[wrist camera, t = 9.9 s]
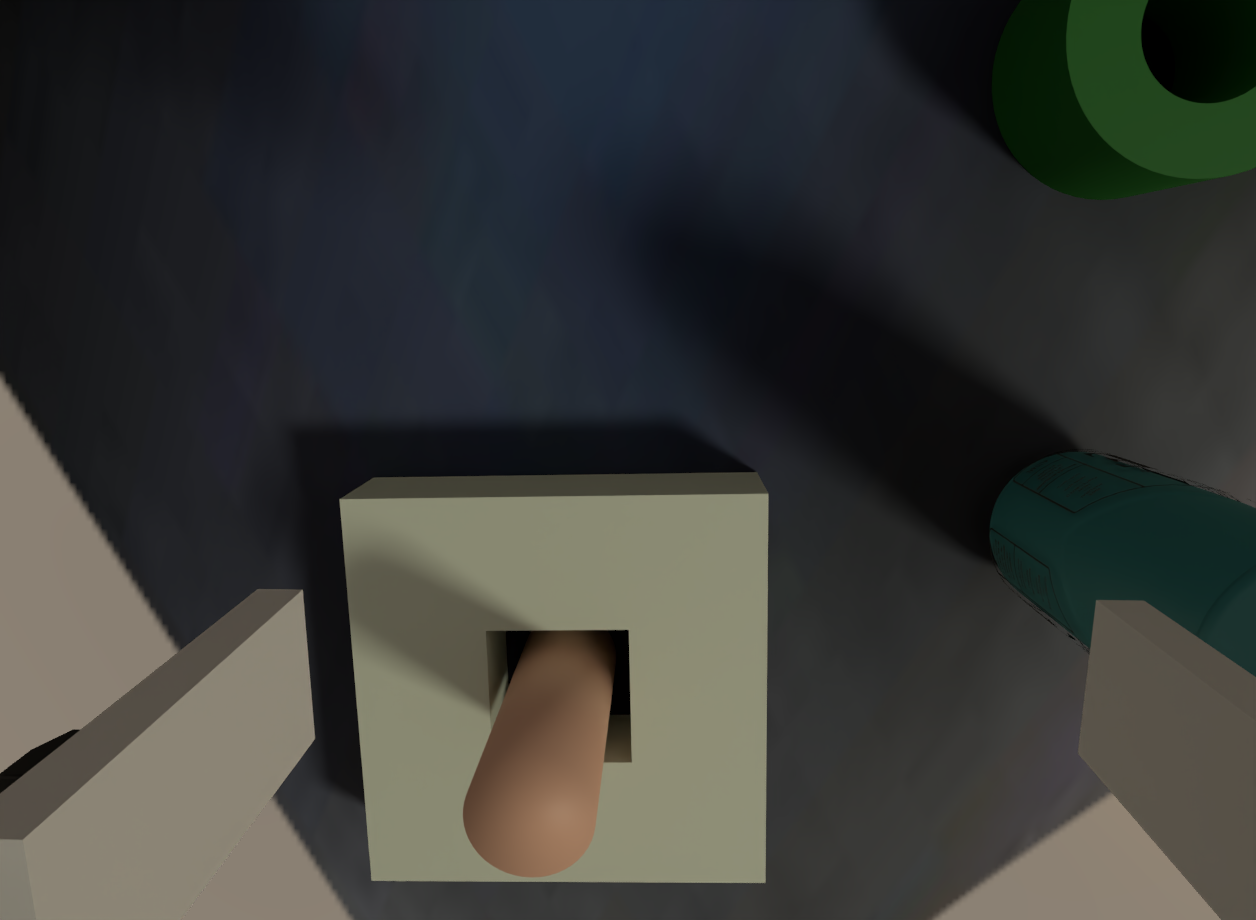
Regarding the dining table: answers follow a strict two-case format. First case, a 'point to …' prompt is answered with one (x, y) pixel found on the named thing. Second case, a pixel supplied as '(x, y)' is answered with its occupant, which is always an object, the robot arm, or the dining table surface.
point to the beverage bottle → (1129, 548)
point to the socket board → (564, 600)
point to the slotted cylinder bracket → (1127, 94)
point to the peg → (544, 756)
